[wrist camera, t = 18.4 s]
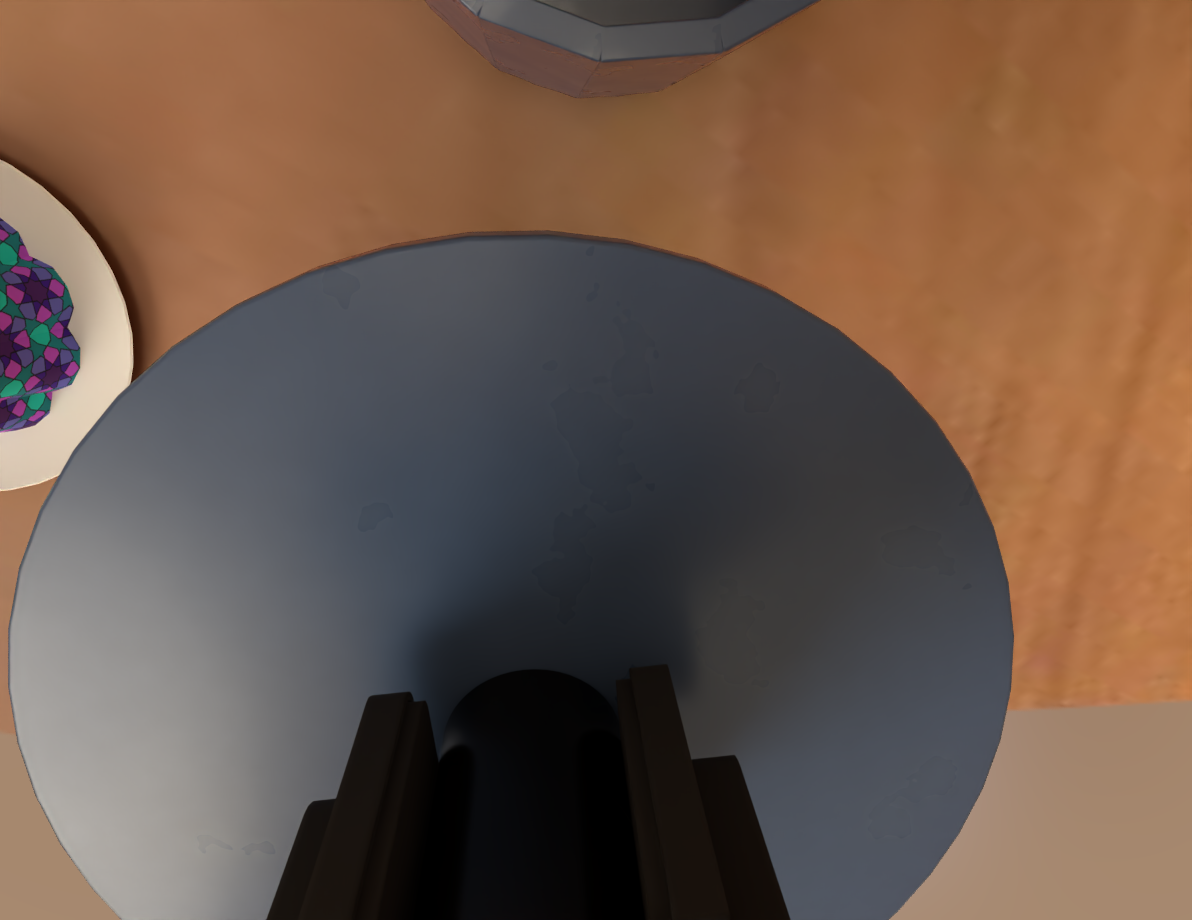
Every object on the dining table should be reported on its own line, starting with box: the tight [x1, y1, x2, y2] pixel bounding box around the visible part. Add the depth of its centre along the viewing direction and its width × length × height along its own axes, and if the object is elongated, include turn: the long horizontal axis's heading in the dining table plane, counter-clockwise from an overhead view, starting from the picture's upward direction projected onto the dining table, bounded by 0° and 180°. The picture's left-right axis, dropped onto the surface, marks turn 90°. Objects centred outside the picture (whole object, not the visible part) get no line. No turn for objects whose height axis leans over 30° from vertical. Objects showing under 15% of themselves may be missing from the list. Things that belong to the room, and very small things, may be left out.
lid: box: [8, 231, 1014, 920], centre depth 10 cm, size 14×14×6 cm
